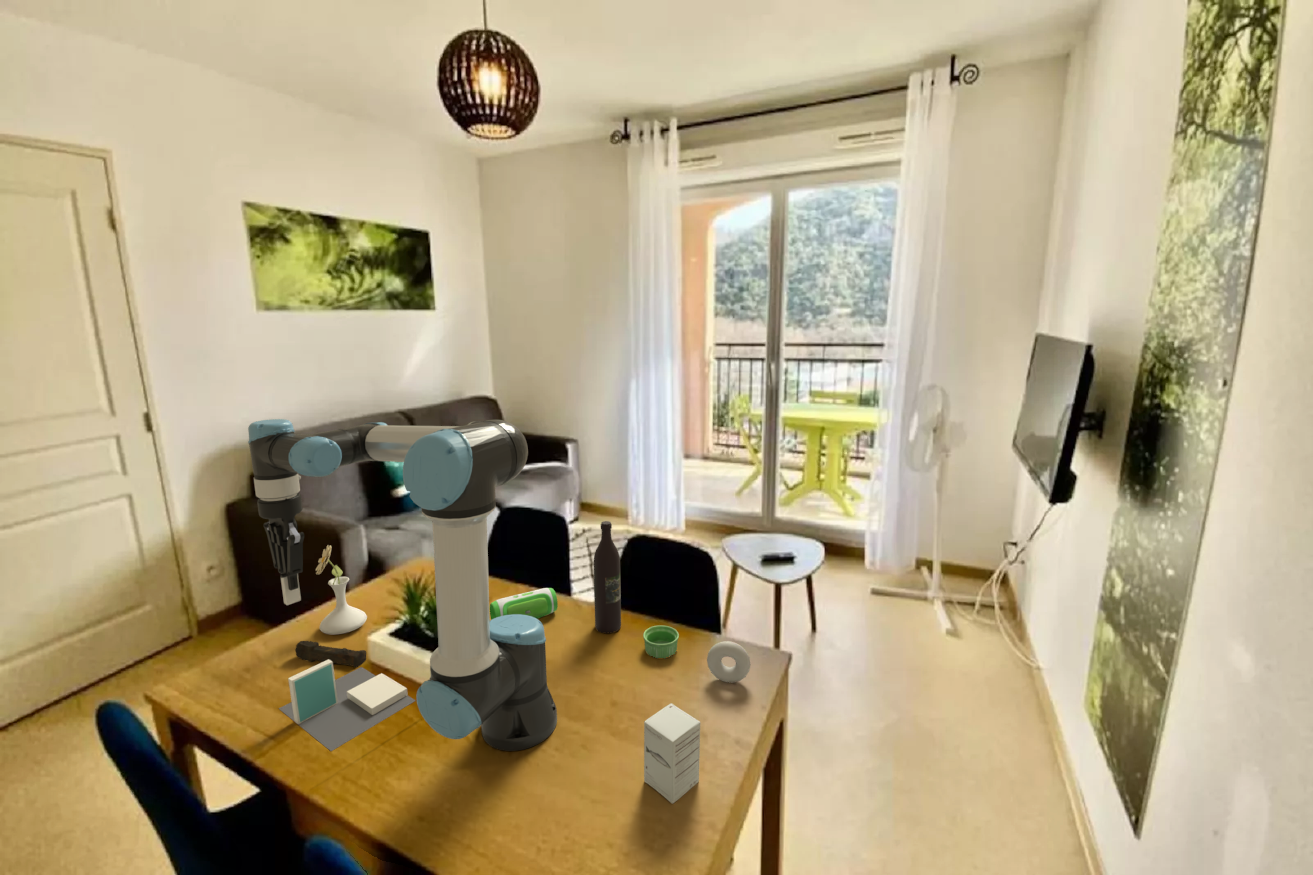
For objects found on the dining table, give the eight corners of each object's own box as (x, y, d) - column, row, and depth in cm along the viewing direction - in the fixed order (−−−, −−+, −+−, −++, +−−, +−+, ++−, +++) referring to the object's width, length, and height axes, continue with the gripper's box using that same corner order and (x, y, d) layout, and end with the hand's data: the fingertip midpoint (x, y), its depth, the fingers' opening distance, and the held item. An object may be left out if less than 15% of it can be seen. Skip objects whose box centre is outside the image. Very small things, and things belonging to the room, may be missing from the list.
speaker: (496, 634, 151) (495, 608, 150) (489, 621, 157) (488, 596, 156) (559, 616, 160) (558, 592, 159) (549, 606, 166) (548, 582, 165)
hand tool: (368, 662, 139) (367, 645, 138) (356, 671, 135) (354, 654, 134) (306, 651, 143) (304, 634, 143) (292, 660, 140) (290, 643, 139)
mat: (416, 702, 123) (415, 700, 123) (331, 754, 109) (331, 751, 109) (361, 669, 136) (361, 666, 135) (278, 711, 121) (278, 708, 121)
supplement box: (642, 782, 102) (642, 720, 100) (671, 760, 107) (671, 701, 105) (672, 806, 97) (672, 742, 94) (700, 782, 102) (701, 720, 100)
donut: (705, 682, 130) (706, 643, 128) (707, 673, 134) (708, 635, 132) (749, 689, 128) (750, 649, 126) (750, 680, 131) (751, 640, 129)
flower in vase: (329, 619, 159) (318, 534, 154) (373, 615, 161) (363, 532, 156) (310, 644, 146) (298, 553, 141) (358, 640, 148) (347, 550, 143)
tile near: (338, 703, 122) (332, 661, 120) (298, 724, 116) (292, 681, 114) (334, 700, 123) (328, 659, 121) (294, 721, 117) (288, 678, 115)
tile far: (382, 679, 131) (407, 695, 125) (347, 698, 124) (372, 715, 119) (381, 673, 130) (407, 688, 125) (346, 691, 124) (371, 708, 118)
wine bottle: (605, 637, 149) (603, 529, 143) (589, 626, 154) (587, 522, 148) (626, 627, 154) (625, 523, 148) (610, 617, 159) (608, 516, 153)
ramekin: (636, 649, 144) (635, 633, 143) (662, 636, 150) (662, 621, 149) (659, 665, 137) (659, 648, 136) (686, 651, 143) (686, 635, 142)
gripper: (314, 497, 115) (326, 603, 119) (284, 485, 122) (297, 586, 127) (272, 506, 109) (287, 618, 113) (244, 493, 116) (259, 599, 121)
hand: (292, 601), depth 120 cm, fingers closed
